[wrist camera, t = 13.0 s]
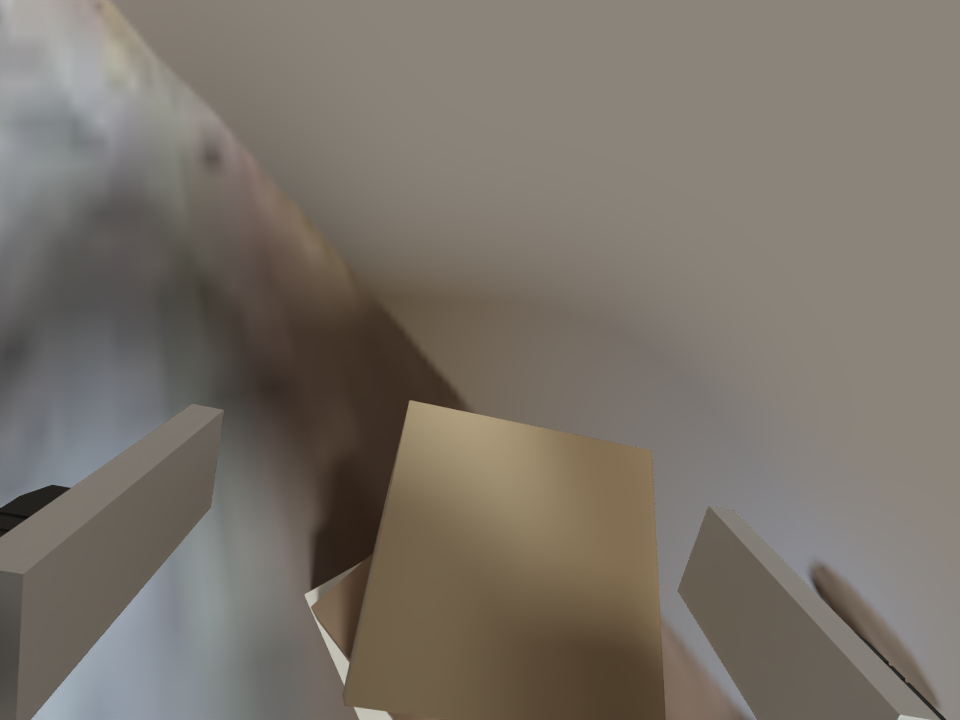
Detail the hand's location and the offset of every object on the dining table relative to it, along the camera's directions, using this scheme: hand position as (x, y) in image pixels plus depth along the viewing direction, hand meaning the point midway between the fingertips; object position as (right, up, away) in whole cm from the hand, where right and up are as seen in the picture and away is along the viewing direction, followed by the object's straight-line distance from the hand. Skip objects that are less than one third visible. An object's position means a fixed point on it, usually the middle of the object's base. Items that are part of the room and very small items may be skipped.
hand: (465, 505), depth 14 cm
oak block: (-1, -5, +4) cm, 7 cm away
